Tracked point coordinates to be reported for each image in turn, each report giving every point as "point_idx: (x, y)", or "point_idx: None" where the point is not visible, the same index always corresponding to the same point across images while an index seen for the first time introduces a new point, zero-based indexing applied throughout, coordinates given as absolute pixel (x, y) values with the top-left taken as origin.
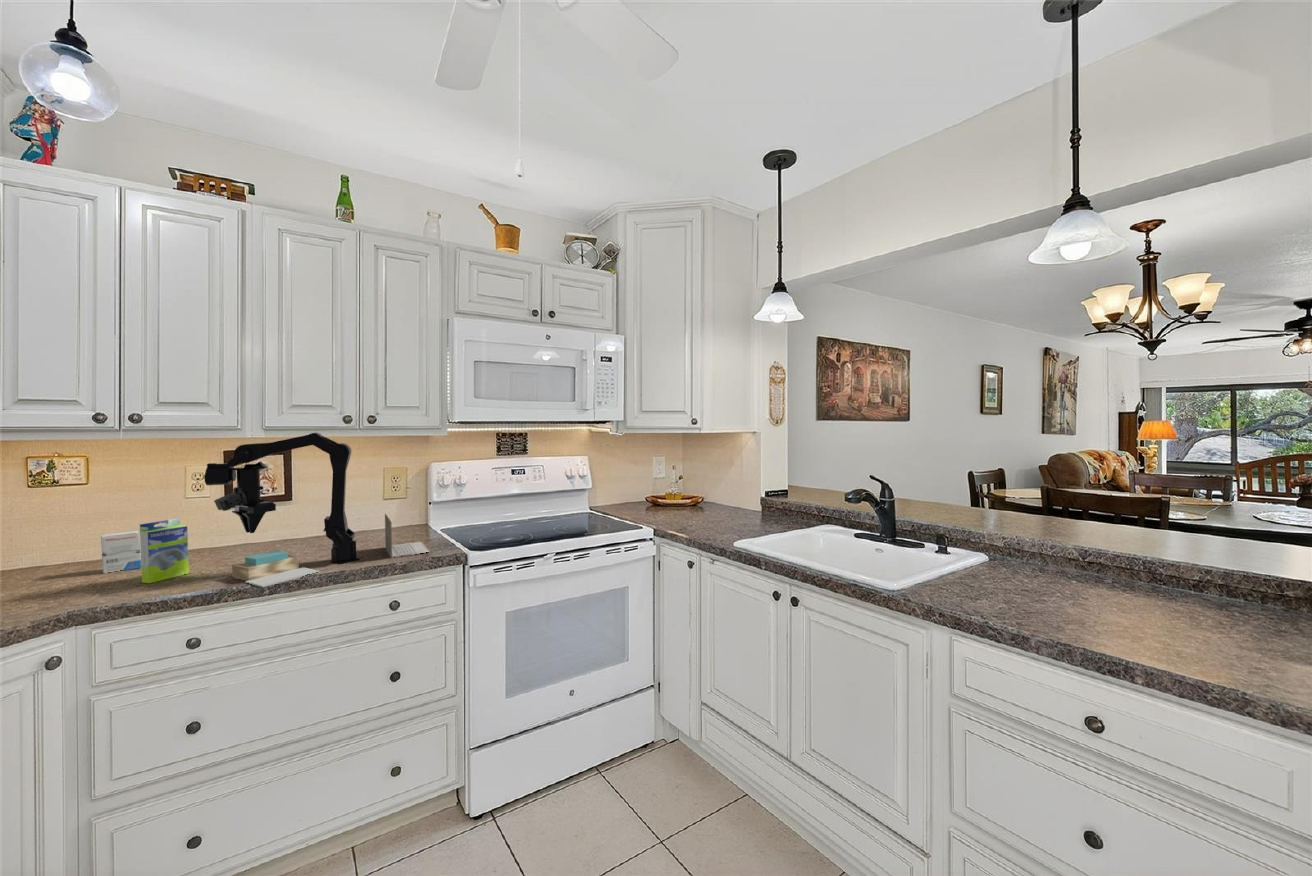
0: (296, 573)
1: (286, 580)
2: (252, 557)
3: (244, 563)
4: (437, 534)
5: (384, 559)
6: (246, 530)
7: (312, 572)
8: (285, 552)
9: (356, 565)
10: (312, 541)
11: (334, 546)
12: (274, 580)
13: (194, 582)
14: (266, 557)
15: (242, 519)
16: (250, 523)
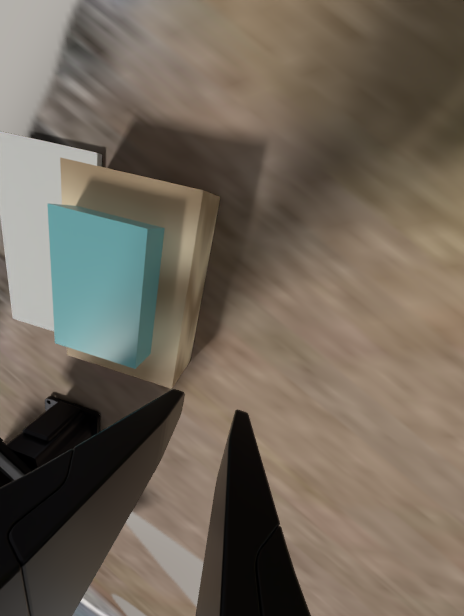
0: (41, 281)
1: (4, 216)
2: (100, 230)
3: (166, 226)
4: (100, 606)
5: (3, 436)
6: (234, 422)
7: (12, 300)
8: (62, 339)
9: (6, 387)
10: (370, 602)
11: (30, 446)
12: (20, 195)
13: (328, 82)
14: (52, 254)
15: (233, 578)
16: (71, 456)
